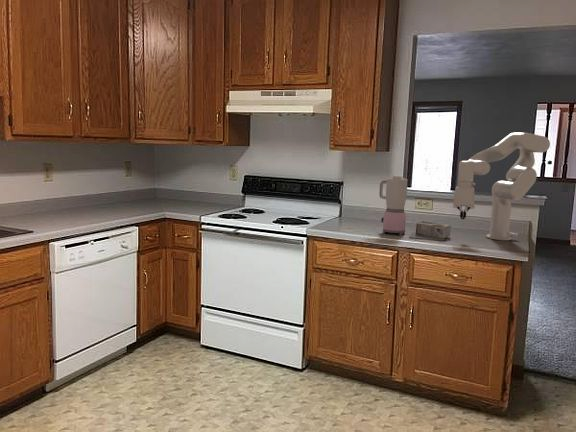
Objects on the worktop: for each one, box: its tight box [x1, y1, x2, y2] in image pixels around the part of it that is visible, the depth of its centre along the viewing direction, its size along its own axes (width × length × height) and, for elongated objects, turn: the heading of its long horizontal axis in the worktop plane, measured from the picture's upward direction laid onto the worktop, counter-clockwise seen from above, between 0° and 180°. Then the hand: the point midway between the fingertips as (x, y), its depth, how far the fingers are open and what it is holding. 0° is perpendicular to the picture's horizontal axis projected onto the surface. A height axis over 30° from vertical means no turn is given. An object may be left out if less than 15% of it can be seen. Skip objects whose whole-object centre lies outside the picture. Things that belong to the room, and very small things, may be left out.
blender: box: [379, 175, 409, 236], centre depth 273 cm, size 16×12×32 cm
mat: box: [409, 231, 446, 242], centre depth 267 cm, size 18×15×1 cm
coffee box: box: [415, 220, 452, 239], centre depth 269 cm, size 9×6×16 cm
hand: (462, 218), depth 260 cm, fingers closed
